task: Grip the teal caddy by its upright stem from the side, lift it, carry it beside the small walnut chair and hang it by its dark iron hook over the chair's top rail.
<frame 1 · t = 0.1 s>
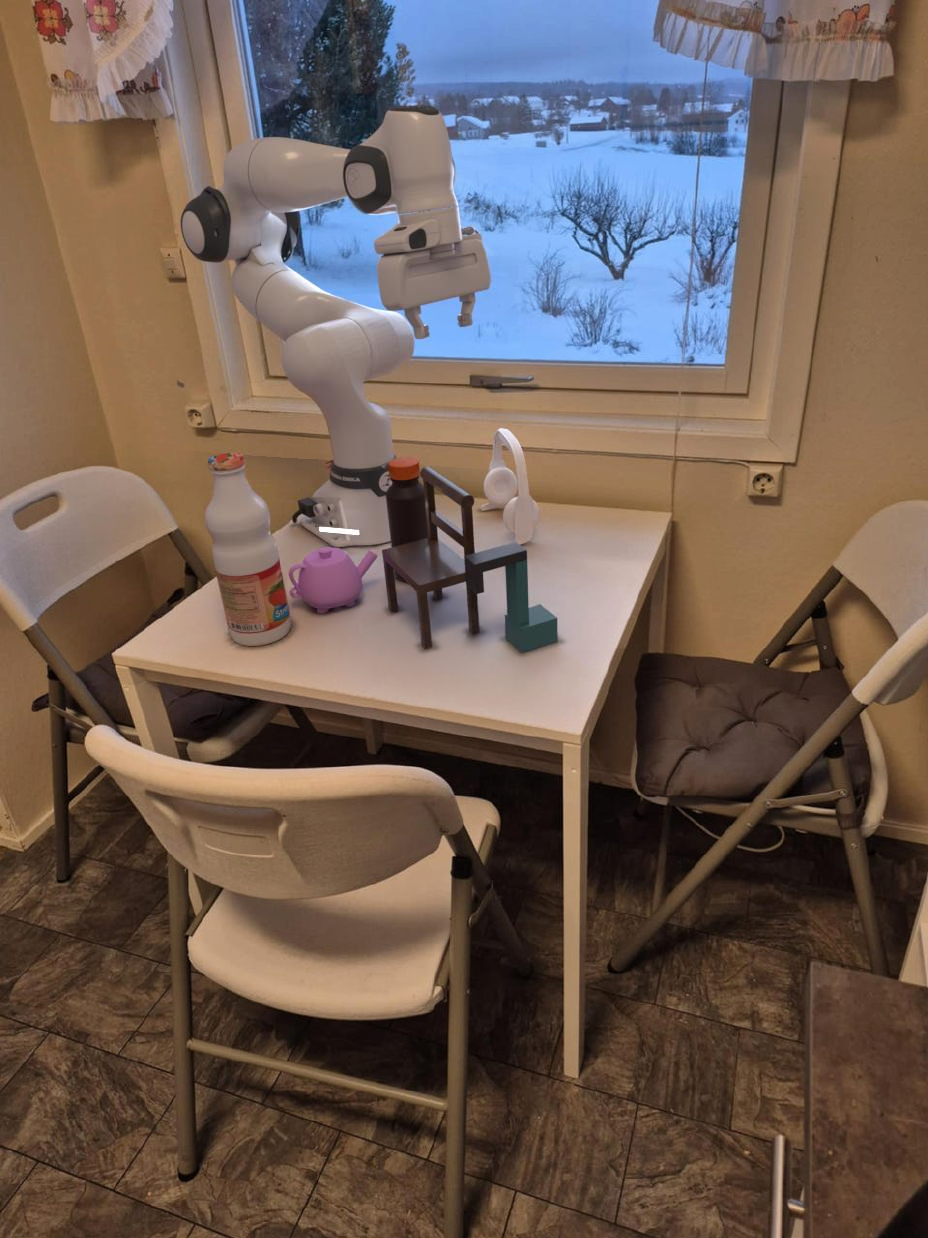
hand: (444, 331, 130), 39 cm above the table, tool pointing down, fingers open, 8 cm apart
chair: (432, 620, 132), on the table
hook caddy: (518, 644, 124), on the table
teapot: (338, 600, 140), on the table
fruit juice: (261, 632, 132), on the table
headset: (510, 526, 161), on the table
bottle: (414, 575, 146), on the table
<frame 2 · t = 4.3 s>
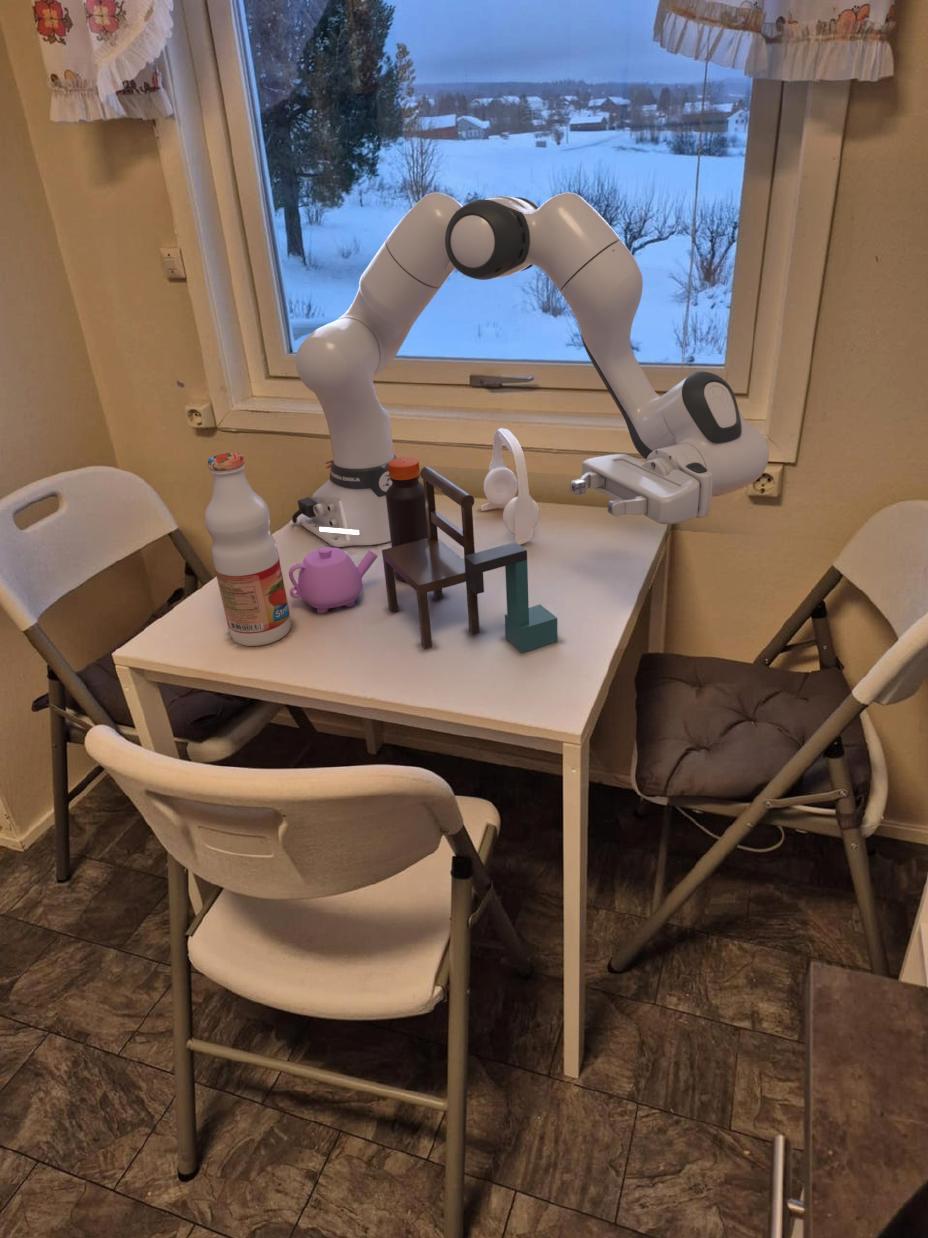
hand: (590, 498, 119), 20 cm above the table, tool horizontal, fingers open, 8 cm apart
nothing on the table moved.
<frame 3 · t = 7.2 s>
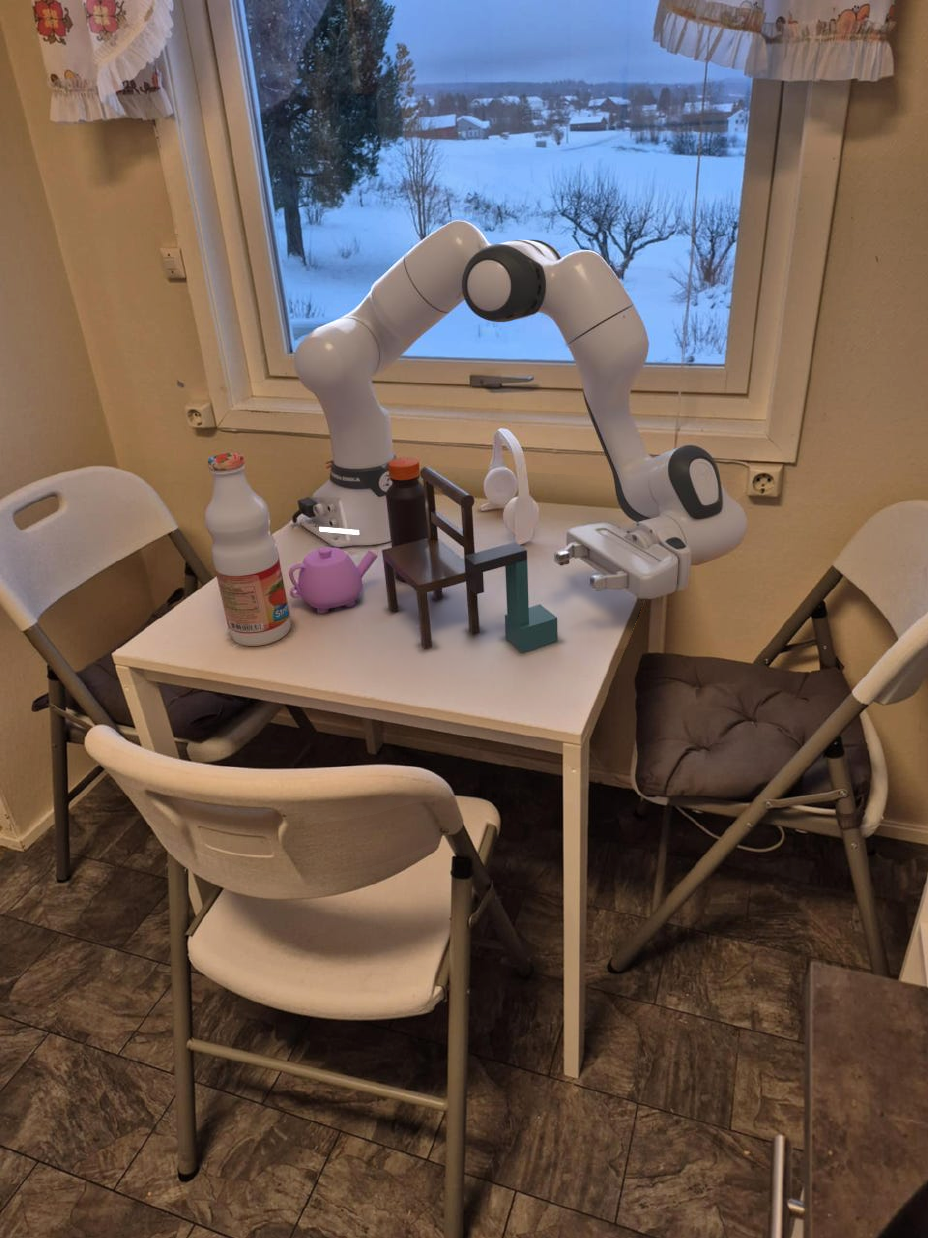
hand: (574, 571, 123), 9 cm above the table, tool horizontal, fingers open, 8 cm apart
nothing on the table moved.
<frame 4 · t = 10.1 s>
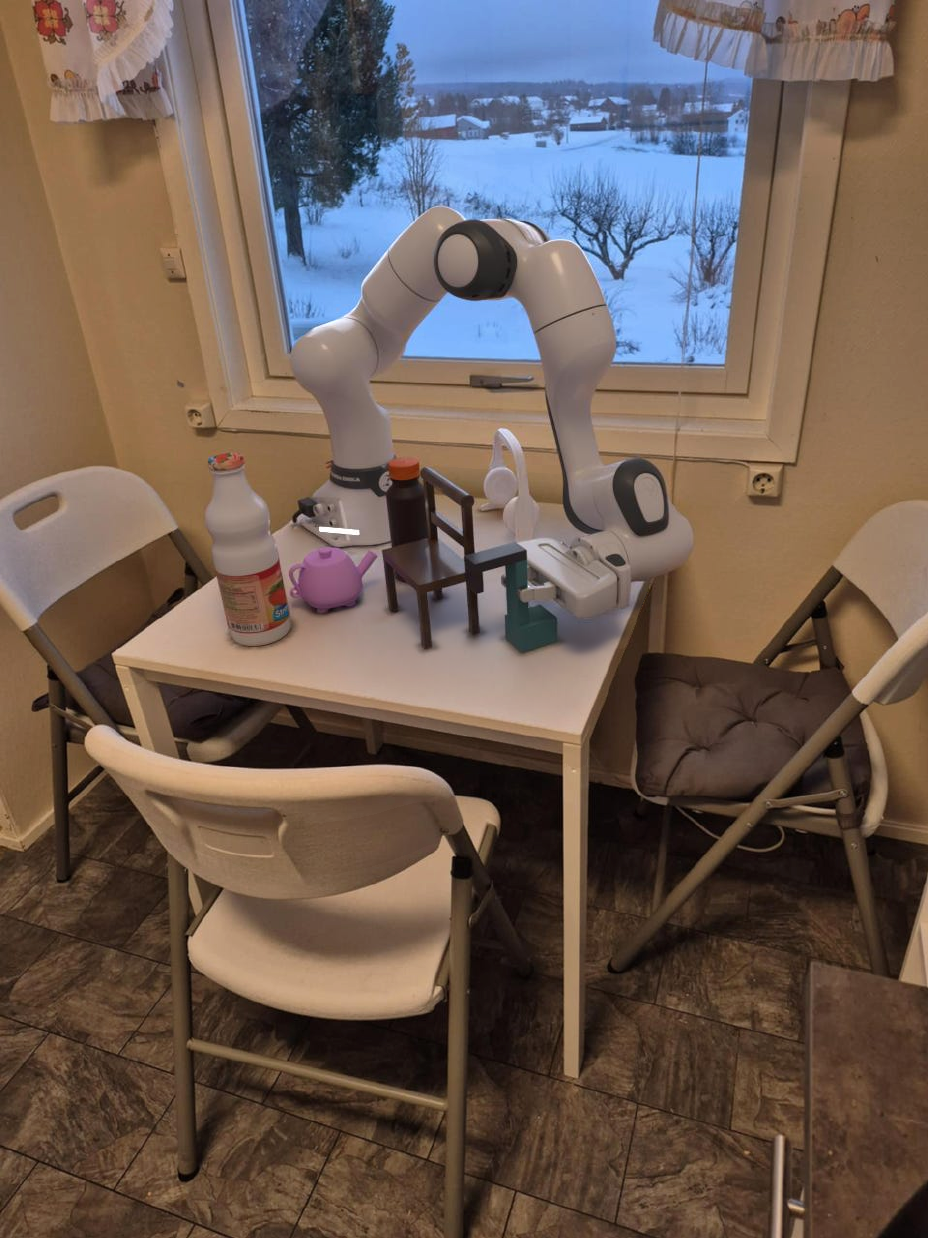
hand: (511, 589, 119), 9 cm above the table, tool horizontal, fingers closed on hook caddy, 3 cm apart
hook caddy: (518, 644, 124), on the table, touching gripper
everything else where it was.
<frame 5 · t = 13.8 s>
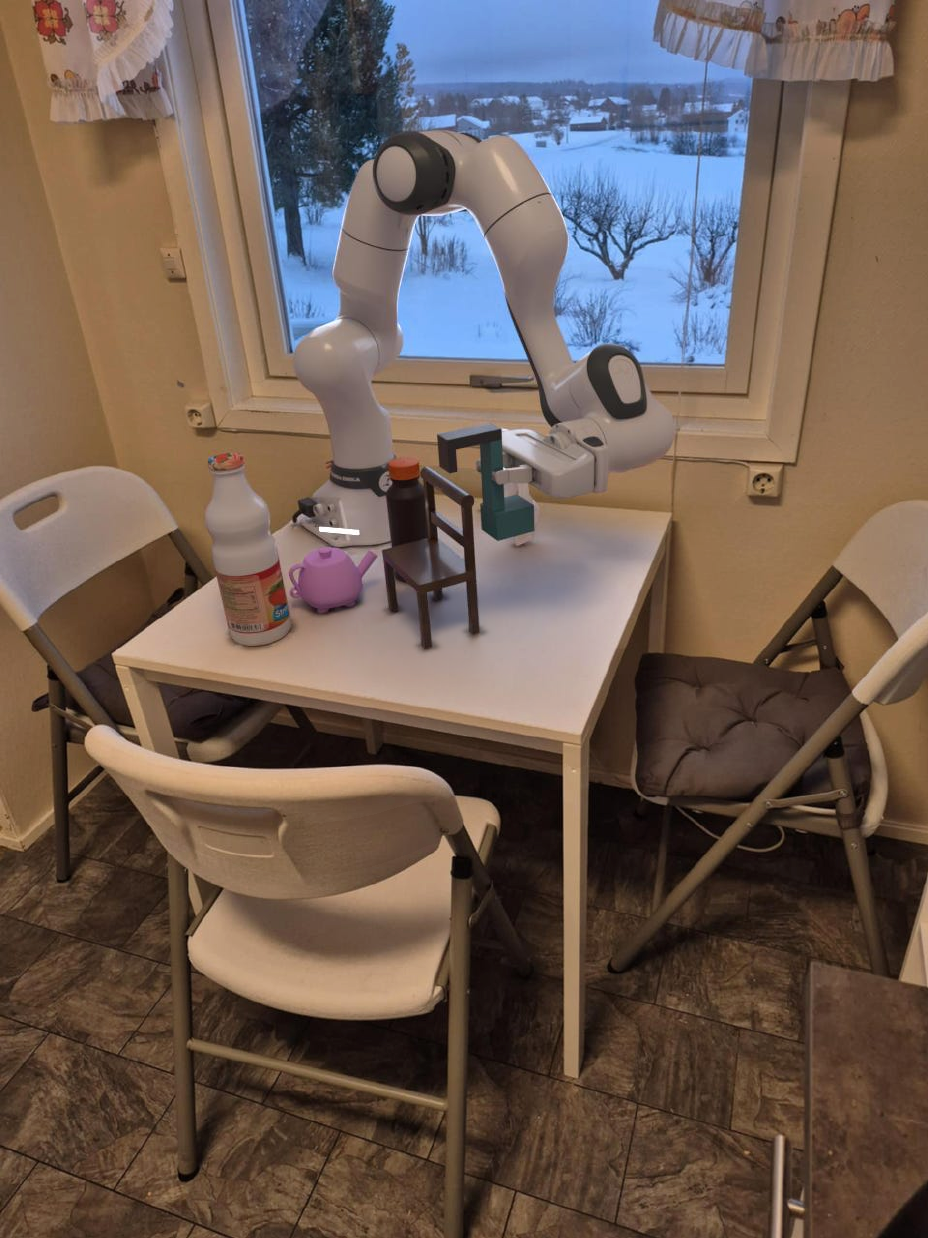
hand: (486, 472, 116), 25 cm above the table, tool horizontal, fingers closed on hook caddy, 3 cm apart
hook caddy: (494, 533, 121), point 15 cm above the table, touching gripper
everything else where it was.
when the fingers open (17 cm above the table, at t = 17.4 s): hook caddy moves 3 cm, resting on chair.
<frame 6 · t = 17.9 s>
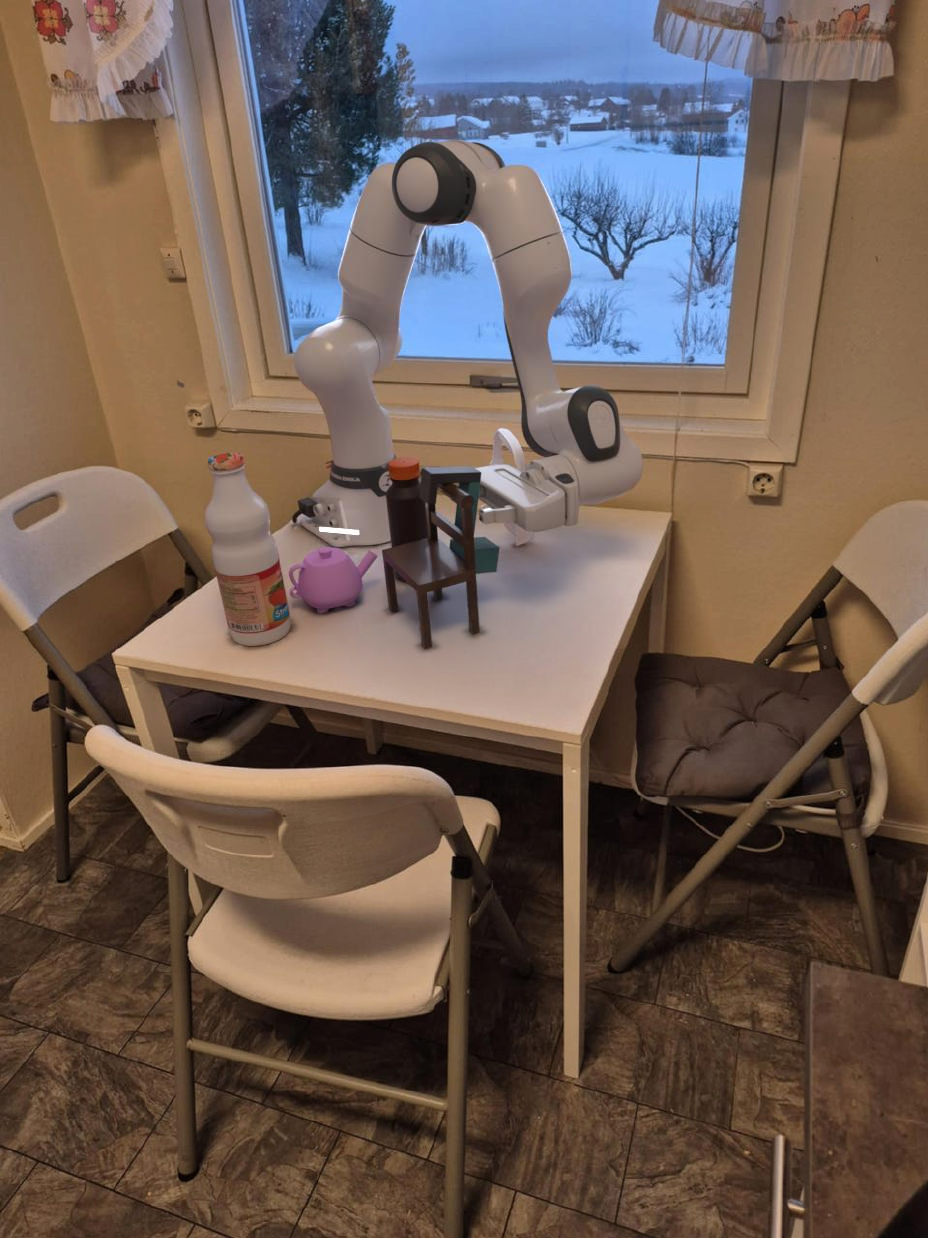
hand: (466, 507, 126), 17 cm above the table, tool horizontal, fingers open, 8 cm apart
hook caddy: (459, 568, 130), point 8 cm above the table, tilted 11°, touching chair
everything else where it was.
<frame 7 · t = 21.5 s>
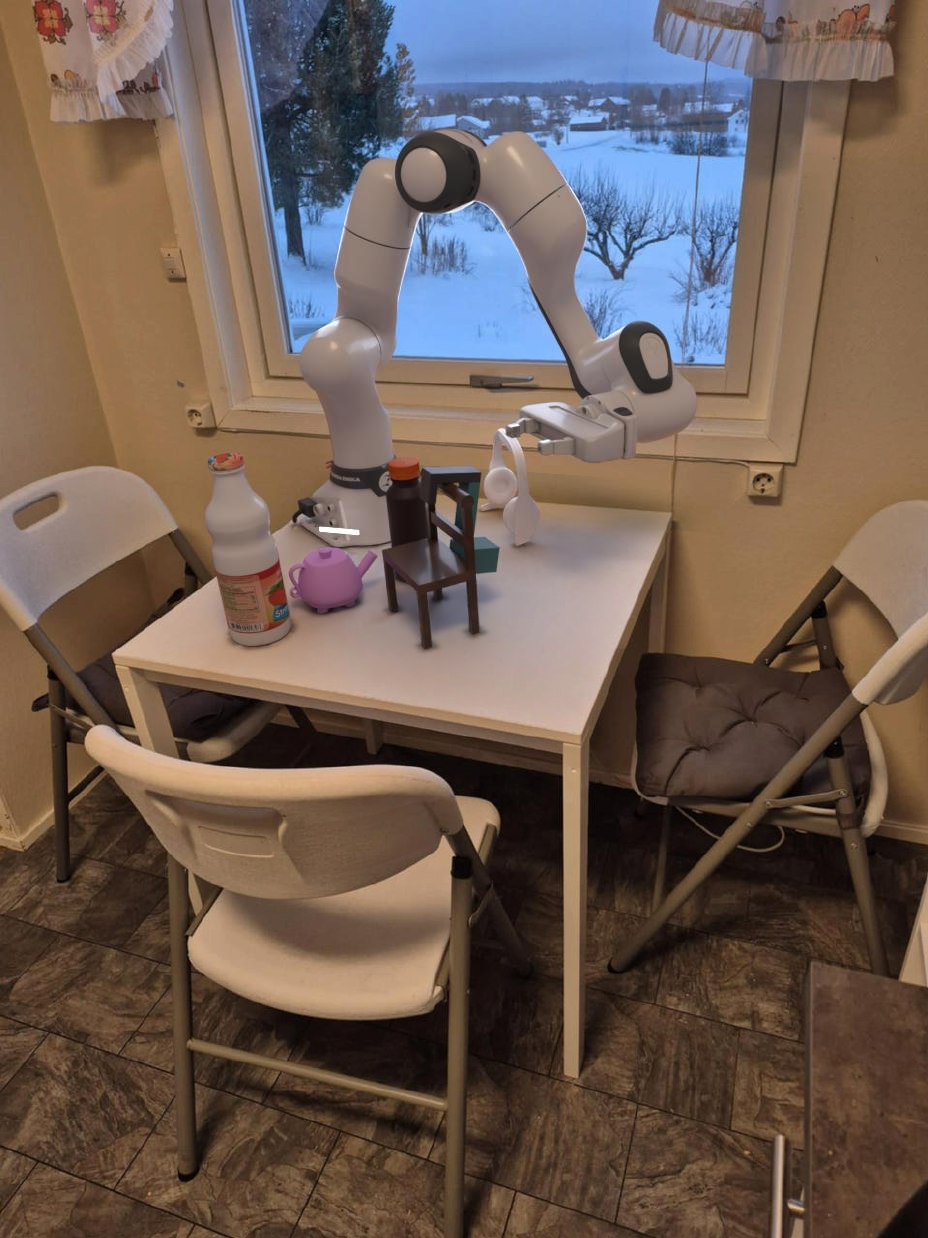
hand: (523, 440, 125), 25 cm above the table, tool horizontal, fingers open, 8 cm apart
nothing on the table moved.
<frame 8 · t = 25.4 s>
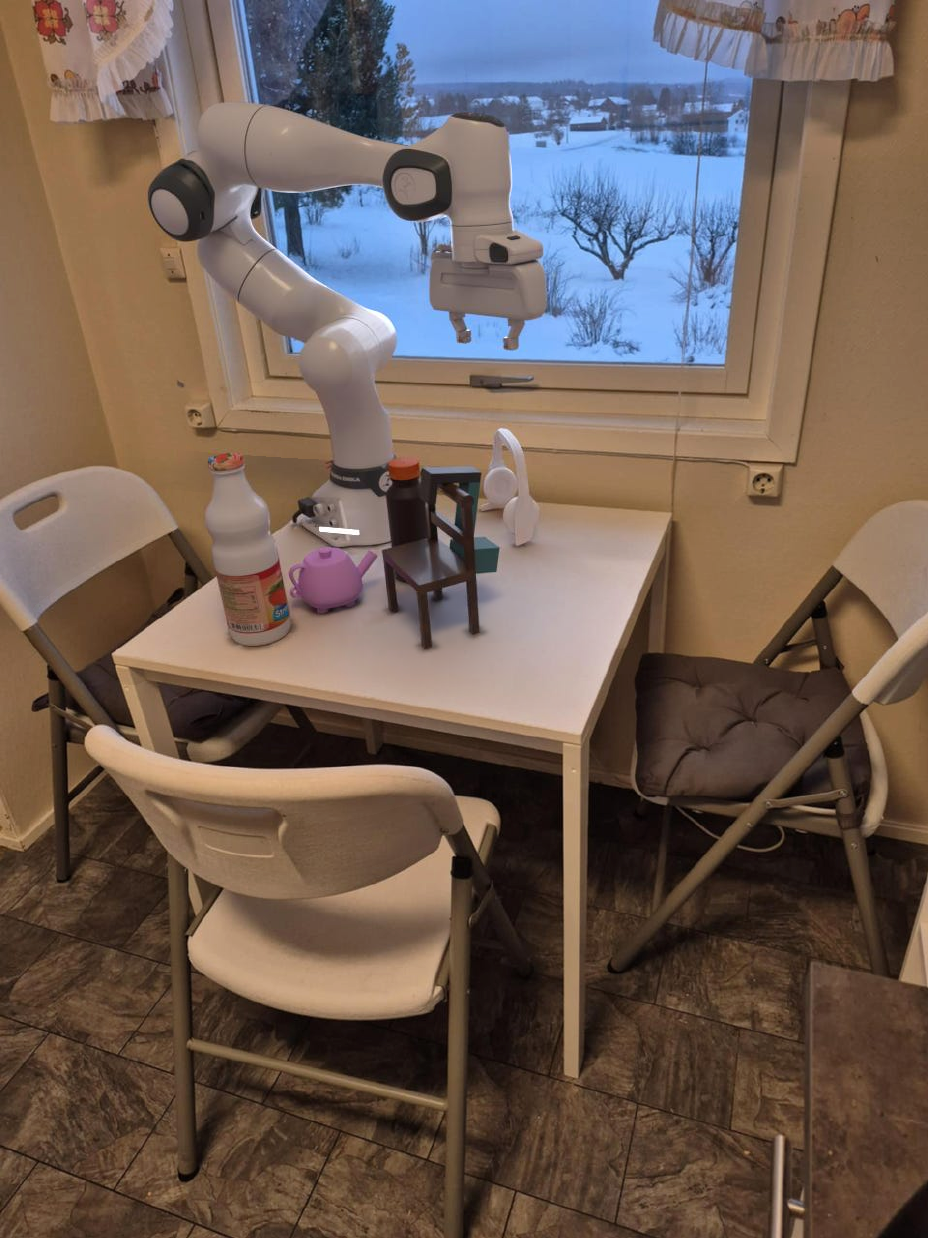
hand: (487, 345, 127), 37 cm above the table, tool pointing down, fingers open, 8 cm apart
nothing on the table moved.
at the end: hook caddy touching chair; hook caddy point 7.5 cm above the table; the gripper is holding nothing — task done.
